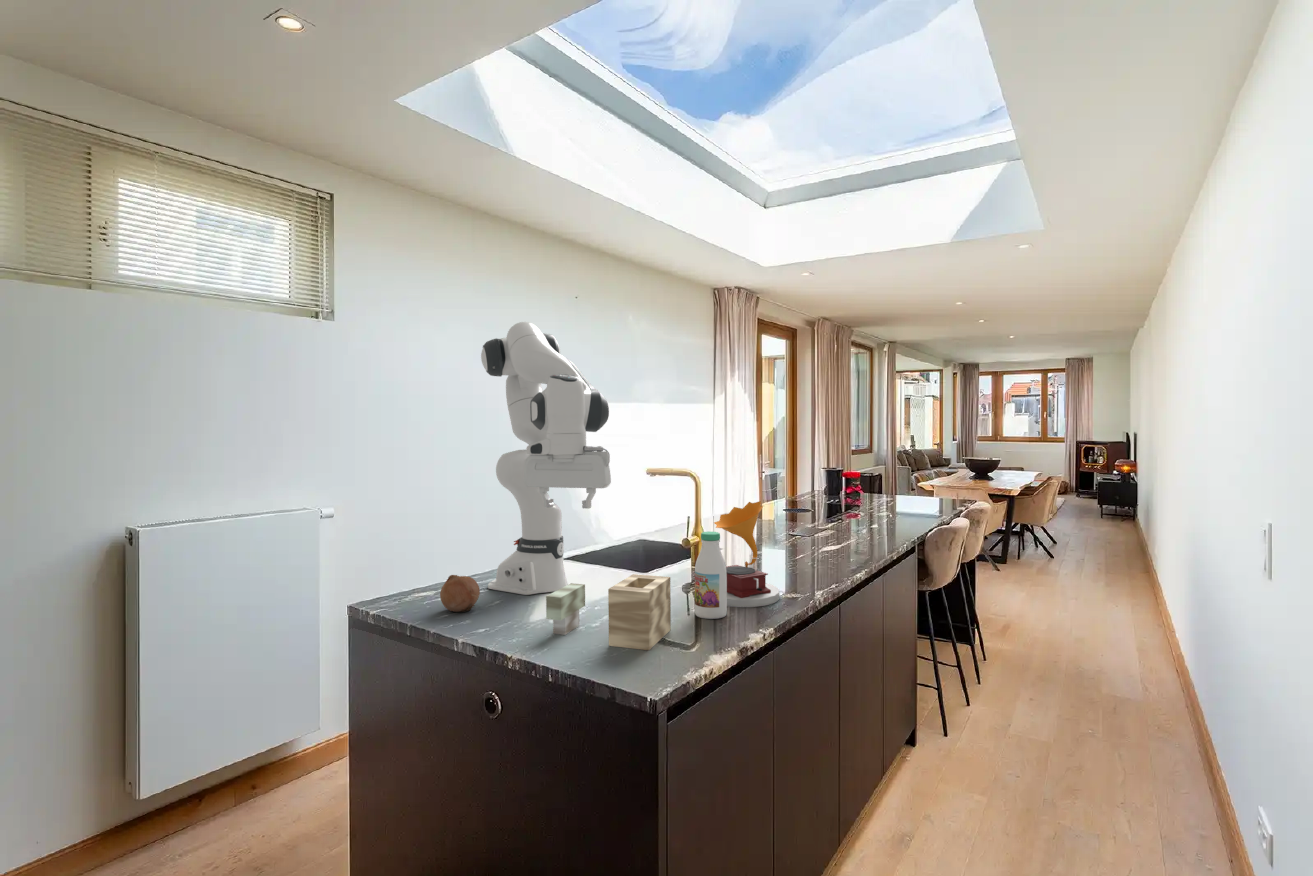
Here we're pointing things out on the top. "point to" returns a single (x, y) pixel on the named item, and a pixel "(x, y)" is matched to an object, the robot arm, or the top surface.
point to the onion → (459, 593)
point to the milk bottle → (710, 579)
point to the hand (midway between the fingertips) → (567, 507)
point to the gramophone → (744, 581)
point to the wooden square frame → (639, 611)
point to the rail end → (565, 607)
